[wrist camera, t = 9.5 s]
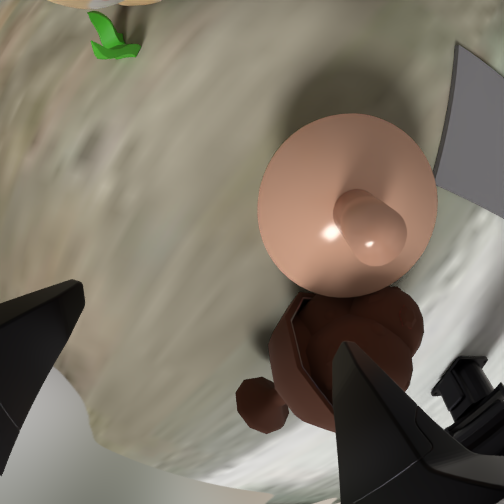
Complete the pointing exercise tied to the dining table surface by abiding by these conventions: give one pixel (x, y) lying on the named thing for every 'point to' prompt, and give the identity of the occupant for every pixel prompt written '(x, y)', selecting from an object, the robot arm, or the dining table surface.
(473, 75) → the mat
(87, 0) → the kitten
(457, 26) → the dining table surface
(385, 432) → the robot arm
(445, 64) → the dining table surface
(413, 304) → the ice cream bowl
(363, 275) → the lid
